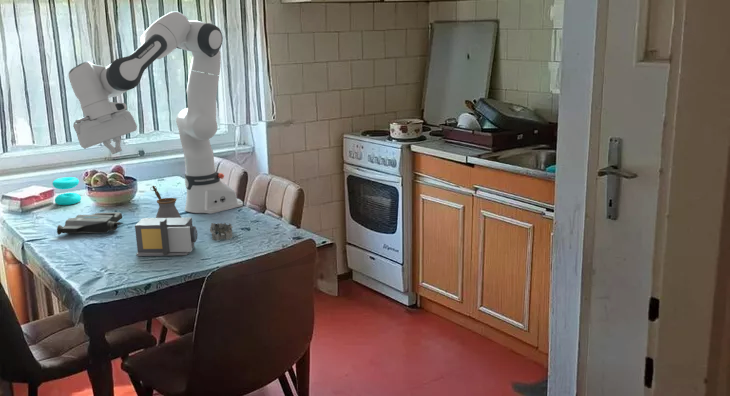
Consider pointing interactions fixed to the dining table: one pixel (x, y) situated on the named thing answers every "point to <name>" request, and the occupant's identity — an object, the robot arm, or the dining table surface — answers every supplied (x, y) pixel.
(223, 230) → the egg carton
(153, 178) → the dining table surface
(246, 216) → the dining table surface
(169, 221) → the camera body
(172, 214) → the coffee pot
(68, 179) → the donuts
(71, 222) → the camcorder
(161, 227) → the side door
